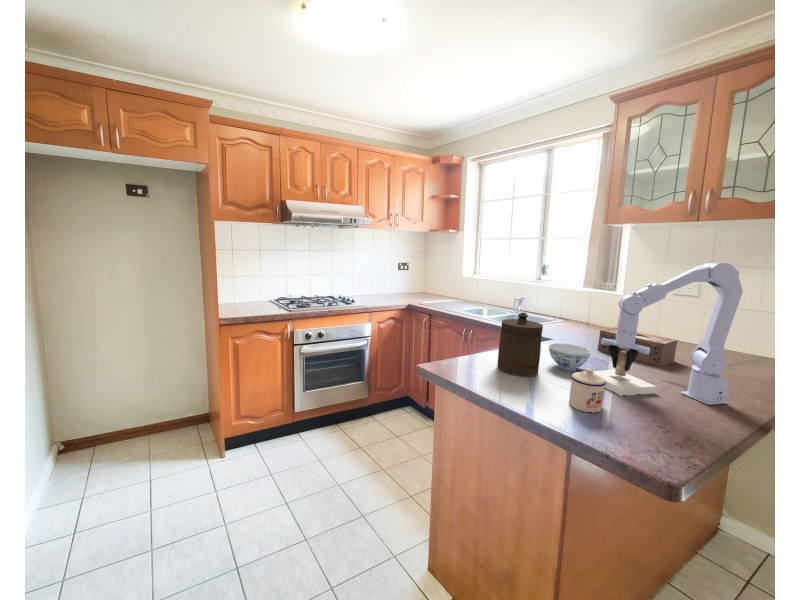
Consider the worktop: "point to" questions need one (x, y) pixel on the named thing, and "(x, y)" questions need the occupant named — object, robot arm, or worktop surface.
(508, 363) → the wooden container
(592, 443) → the worktop surface
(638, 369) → the worktop surface
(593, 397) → the teacup with lid
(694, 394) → the robot arm
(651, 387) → the socket plate
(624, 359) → the peg
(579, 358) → the chinaware
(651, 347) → the tissue box cover
